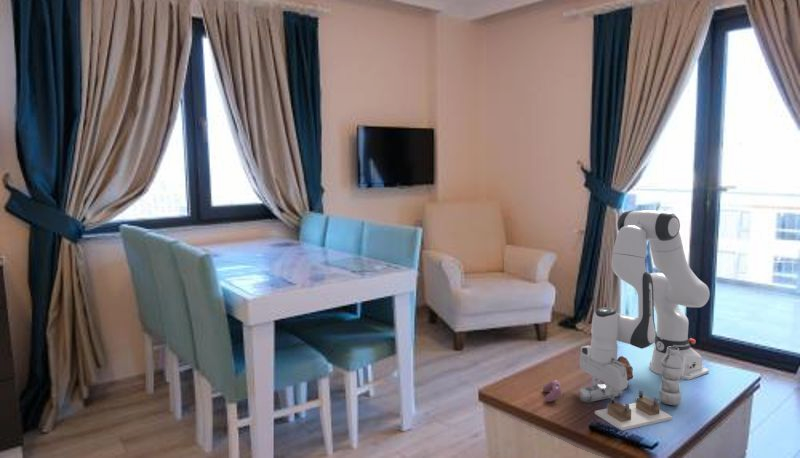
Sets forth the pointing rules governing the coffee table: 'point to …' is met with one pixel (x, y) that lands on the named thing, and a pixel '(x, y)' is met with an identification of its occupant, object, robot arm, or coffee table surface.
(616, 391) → the grey long cylinder
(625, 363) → the stone
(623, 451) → the coffee table surface
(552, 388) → the video game controller
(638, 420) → the spanner rack
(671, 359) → the plastic bottle
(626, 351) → the coffee table surface
